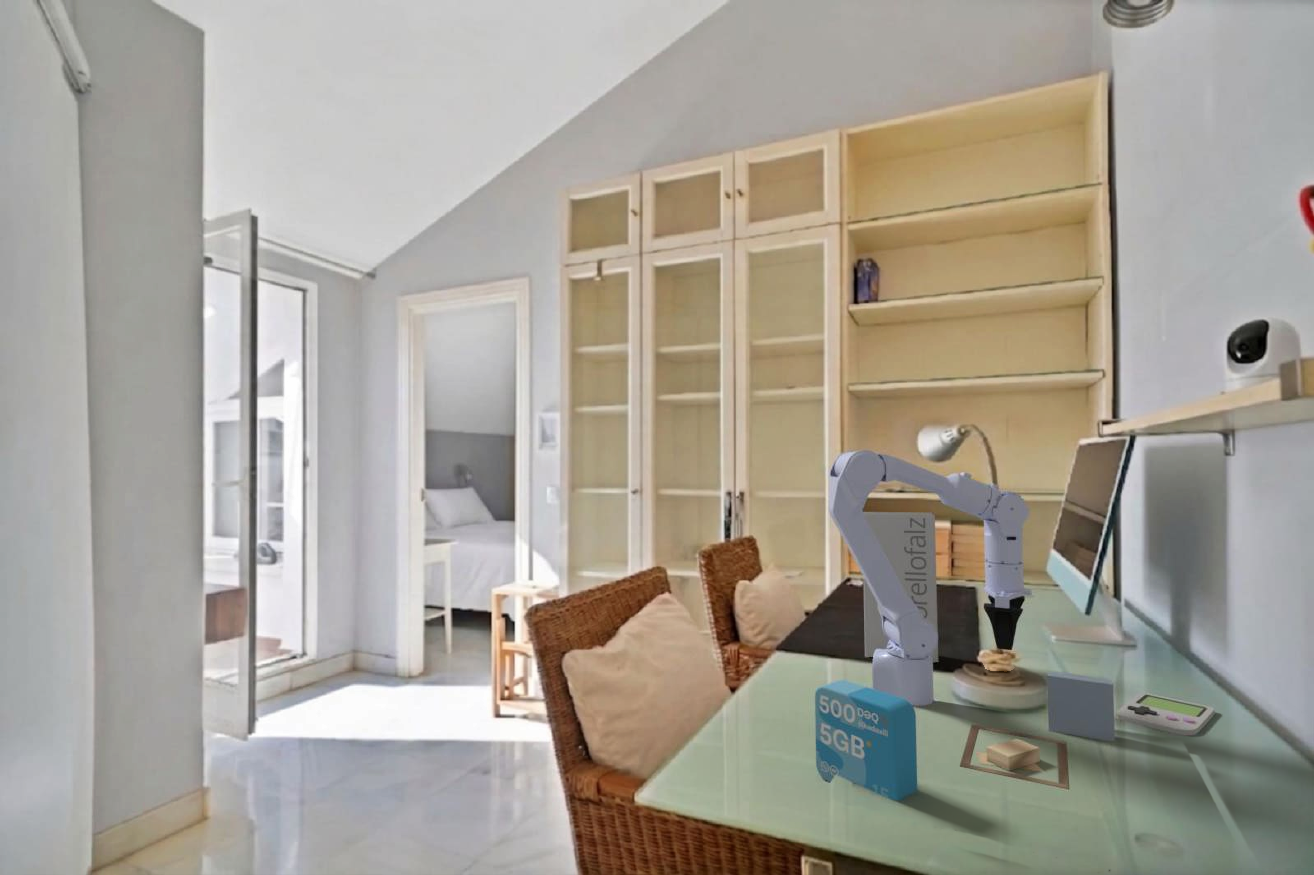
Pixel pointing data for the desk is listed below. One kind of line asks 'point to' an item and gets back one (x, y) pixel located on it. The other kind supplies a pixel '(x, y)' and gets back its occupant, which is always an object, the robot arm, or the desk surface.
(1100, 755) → the desk surface
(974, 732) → the walnut frame
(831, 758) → the data package
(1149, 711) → the handheld gaming console
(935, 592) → the grey lettered box
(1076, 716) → the slate sheet
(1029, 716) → the desk surface
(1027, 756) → the upper offcut
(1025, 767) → the lower offcut
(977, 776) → the desk surface
